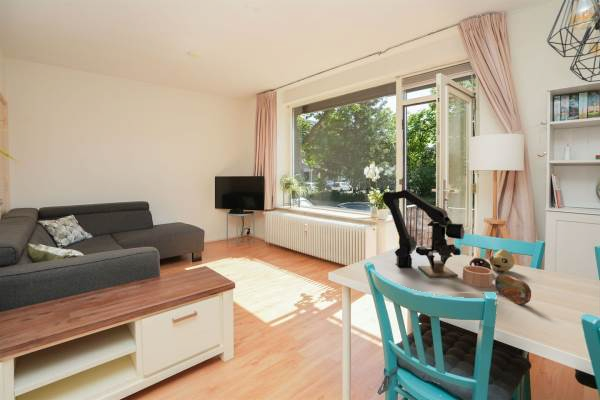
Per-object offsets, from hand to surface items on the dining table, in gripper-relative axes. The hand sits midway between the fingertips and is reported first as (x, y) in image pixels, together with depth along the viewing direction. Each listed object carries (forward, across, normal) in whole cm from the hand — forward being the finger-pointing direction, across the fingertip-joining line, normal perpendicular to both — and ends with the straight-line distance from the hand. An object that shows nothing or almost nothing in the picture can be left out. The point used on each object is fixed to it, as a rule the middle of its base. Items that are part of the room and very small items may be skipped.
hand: (437, 268), depth 144 cm
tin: (+3, +16, -28) cm, 32 cm away
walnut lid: (+2, 0, 0) cm, 2 cm away
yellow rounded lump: (+3, +32, +3) cm, 32 cm away
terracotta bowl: (+2, +12, -12) cm, 17 cm away
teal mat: (+3, 0, 0) cm, 3 cm away
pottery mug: (+3, +21, +1) cm, 21 cm away
